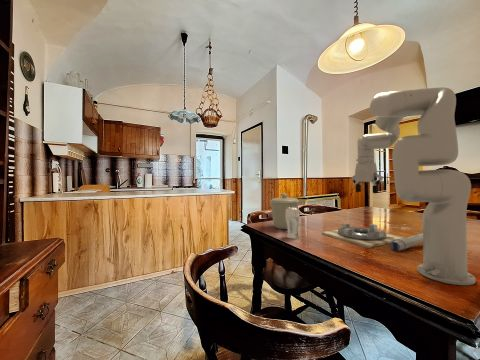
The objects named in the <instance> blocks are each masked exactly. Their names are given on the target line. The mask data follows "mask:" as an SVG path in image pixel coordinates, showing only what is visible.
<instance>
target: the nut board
mask: <svg viewBox="0 0 480 360" xmlns="http://www.w3.org/2000/svg"><path fill="white" fill-rule="evenodd" d="M385 233H386V238H385V239H381V240H360V239H353V238H348V237H344V236H342V235H340V234H338V229H333V230H328V231H327V230H325V231H321V235H323V236H326V237H330V238H334V239H336V240H339V241H343V242H346V243H350V244H351V245H352V244H353V245H355V246H359V247H362V248H366V249H369V248H375V247H379V246H383V245H388V244H390V243H391V242H393V241H395V240H397V239H403V238H406V237H405V236H401V235H396V234H392V233H387V232H385Z"/></svg>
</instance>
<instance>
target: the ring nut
mask: <svg viewBox="0 0 480 360" xmlns="http://www.w3.org/2000/svg"><path fill="white" fill-rule="evenodd" d="M337 230H338V234H340V235H342V236H344V237H348V238H353V239H360V240H381V239H385V238H386V233H387V232H385V231H384V230H381V229H378V224H374V223H371V224H369V225H368V227H362V226H350V223H349V222H344V223H343V222H342V223H341V227H340V228H337Z"/></svg>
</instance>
